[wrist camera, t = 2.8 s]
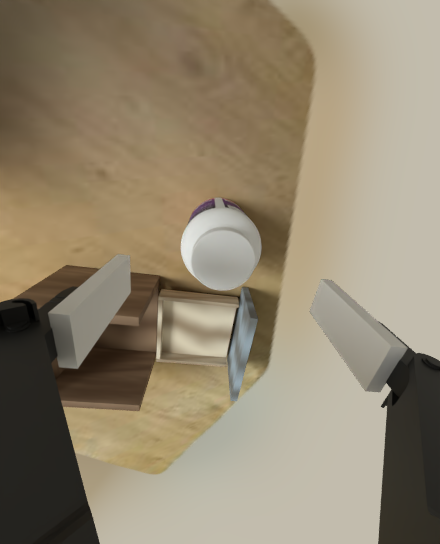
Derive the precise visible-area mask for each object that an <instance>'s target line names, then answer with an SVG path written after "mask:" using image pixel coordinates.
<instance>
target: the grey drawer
mask: <svg viewBox="0 0 440 544" xmlns="http://www.w3.org/2000/svg"><path fill="white" fill-rule="evenodd" d="M236 308H238V309H237V314H236V319H235V324H234V329H233V334H232V338H231V343H230V348H229V353H228V358H227V361H226V356H227V351H228V346H229V341H230V336H231V331H232V326H233V322H234V317H235V312H236ZM257 321H258V317H257V314H256V311H255V308H254V304H253V301H252V298H251V295H250V292H249V289H248V288H246V287H242V290H241V295H240V300H239V301H238V297H231V296H221V295H212V294H203V293H193V292H184V291H175V290H166V289H161V292H160V294H159V296H158V324H157V353H156V362H169V363H182V364H195V365H207V366H220V367H226V366H227V363H228V375H229V387H230V399H231V401H237V399H238V395H239V391H240V387H241V384H242V380H243V376H244V372H245V368H246V364H247V360H248V356H249V353H250V350H251V346H252V341H253V337H254V333H255V329H256V325H257Z"/></svg>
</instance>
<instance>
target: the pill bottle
mask: <svg viewBox="0 0 440 544" xmlns="http://www.w3.org/2000/svg"><path fill="white" fill-rule="evenodd" d="M181 254H182V258H183V261H184V263H185V265H186V267H187V269H188V270H189V271H190V273H191V274H192V275H193V276H194V277H195V278H197V279H198V280H199V281H200V282H201V283H202V284H203V285H205V286H207V287H209V288H211V289H214V290H231V289H234V288H236V287H239V286H240V285H242V284H243V283H244V282H246V281H247V280H248V279H249V277H250V276H251V274H252V272H253V270H254V269H255V267H256V266H257V264H258V262H259V259H260V255H261V238H260V235H259V232H258V230H257V228H256V226H255V225H254V223H253V222H252V221H251V220H250V219H249V217H248V216H247V215H246V214H245V213H244V212H243V211H242V210H241V208H240V207H239V206H238V205H237V204H235V203H234V202H232V201H230V200H228V199H225V198H212V199H208V200H206V201H204V202H202V203H201V204H200V205H198V206H197V207H196V209H195V210H194V211H193V213H192V215H191V217H190V220H189V222H188V224H187V226H186V229H185V231H184V233H183V236H182V240H181Z"/></svg>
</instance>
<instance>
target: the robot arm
mask: <svg viewBox="0 0 440 544" xmlns="http://www.w3.org/2000/svg"><path fill="white" fill-rule="evenodd" d="M130 293H131V280H130V255H121V254H117V255H116V256H115V257H114V258H113V259H111V260H110V261H109V262H108V263H107V264H106V265H104V266H103V267H102V268H101V269H100V270H98V271H97V272H96V273H95V274H94V275H92V276H91V277H90V278H89V279H88V280H87V281H85V282H84V283H83V284H82V285H81V286H79V287H74V286H72V287H70V288H67V289H65V290H63V291H61V292H60V293H59V294H57V295H56V296H55V298H54V297H53V298H52V299H51V300H50V301H49V302H47V303H46V304H44V305H43V306H42V307H41V308H39V309H37V304H36V302H35V301H34V300H31V299H26V298H19V299H11V300H7V301H3V302H0V544H100V543H99V539H98V536H97V532H96V528H95V524H94V521H93V517H92V513H91V510H90V507H89V505H88V501H87V498H86V494H85V490H84V486H83V482H82V478H81V475H80V471H79V467H78V463H77V459H76V456H75V452H74V448H73V444H72V440H71V436H70V433H69V429H68V425H67V421H66V417H65V414H64V410H63V406H62V402H61V398H60V394H59V391H58V387H57V383H56V379H55V375H54V372H53V368H52V364H51V363H52V362H53V361H54V360H55V358H56V357H57V360H58V365H59V367H62V368H75V369H78V368H79V366H80V365H81V363H82V362H83V360H84V359H85V358H86V356H87V355H88V353H89V352H90V350H91V349H92V347H93V346H94V345H95V343H96V342H97V340H98V339H99V337H100V336H101V335H102V333H103V332H104V330H105V329H106V327H107V326H108V324H109V323H110V322H111V320H112V319H113V317H114V316H115V314H116V313H117V311H118V310H119V309H120V307H121V306H122V304H123V303H124V301H125V300H126V298H127V297H128V296H129V294H130ZM310 313H311V315H312V316H313V317H314V319H315V320H316V322H317V323H318V325H319V326H320V327H321V329H322V330H323V332H324V333H325V335H326V336H327V337H328V339H329V340H330V342H331V343H332V344H333V346H334V347H335V349H336V350H337V352H338V353H339V354H340V356H341V357H342V359H343V360H344V362H345V363H346V364H347V366H348V367H349V369H350V370H351V371H352V373H353V374H354V376H355V377H356V379H357V380H358V381H359V383H360V384H361V386H362V387H363V389H364V390H365V391H372V392H381V390H382V388H383V387H384V385H385V384H386V383H387V384H388V386H389V387H390V388H391V389H392V390H391V391H390V393H389V394H388V396H387V398H386V399H385V401H384V402H383V404H382V405H381V407H382V408H384V407H385V406H387V420H386V434H385V449H384V465H383V480H382V496H381V510H380V526H379V541H378V544H440V361H439V360H437V359H435V358H433V357H431V356H428V355H425V354H421V353H417V354H416V353H415V352H414V351H412V349H410V348H409V347H408V346H407V345H406V344H405V343H404V342H402V341H401V340H400V339H399V338H398V337H396V336H395V334H393V333H392V332H390V330H389V329H388V328H387V327H385V326H384V325H383V324H382V323H380V322H378V321H377V320H376V319H374V317H372V316H371V315H370V314H369V313H368V312H367V311H366V310H365V309H363V308H362V307H361V306H360V305H359V304H358V303H357V302H356V301H355V300H353V299H352V298H351V297H350V296H349V295H348V294H347V293H346V292H344V291H343V290H342V289H341V288H340V287H339V286H338V285H337V284H335V283H334V282H333V281H332V280H326V279H321V281H320V284H319V287H318V290H317V292H316V295H315V298H314V301H313V303H312V306H311V309H310Z"/></svg>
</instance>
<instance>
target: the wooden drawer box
mask: <svg viewBox="0 0 440 544" xmlns="http://www.w3.org/2000/svg"><path fill="white" fill-rule="evenodd" d="M98 270H100V269H95V268H86V267H77V266H69V265H66V266H64V267H63V268H61V269H59V270H58V271H56V272H55V273H53V274H52V275H50V276H48V277H47V278H45V279H44V280H42V281H40V282H39V283H37V284H36V285H34V286H33V287H31V288H29V289H28V290H26V291H25V292H23V293H21V294H20V295H18V296H17V297H15V298H14V299H19V298H26V299H31V300H34V301H35V302H36V304H37V309H39V308H41V307H42V306H43V305H44V304H46V303H47V302H49V301H50V300H51V299H52V298H53V297H54V298H55V296H56V295H57V294H59V293H60V292H61V291H63V290H65V289H67V288H70V287H72V286H74V287H79V286H81V285H82V284H83V283H84V282H85V281H87V280H88V279H89V278H90V277H91V276H92V275H94V274H95V273H96V272H97V271H98ZM130 280H131V293H130V294H129V296H128V297H127V298H126V300H125V301H124V303H123V304H122V306H121V307H120V309H119V310H118V311H117V313H116V314H115V316H114V317H113V319H112V320H111V322H110V323H109V324H108V326H107V327H106V329H105V330H104V332H103V333H102V335H101V336H100V337H99V339H98V340H97V342H96V343H95V345H94V346H93V347H92V349H91V350H90V352H89V353H88V355H87V356H86V358H85V359H84V360H83V362H82V363H81V365H80V366H79V368H78V369H75V368H62V367H59V365H58V360H57V357H56V358H55V360H54V361H53V362H52V363H51V364H52V368H53V372H54V375H55V379H56V383H57V387H58V391H59V394H60V398H61V402H62V406H63V407H78V408H95V409H112V410H129V411H139V410H140V407H141V404H142V401H143V397H144V394H145V391H146V387H147V384H148V381H149V378H150V374H151V371H152V368H153V365H154V361H155V358H156V353H157V324H158V296H159V285H160V276H157V275H148V274H139V273H131V272H130Z"/></svg>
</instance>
